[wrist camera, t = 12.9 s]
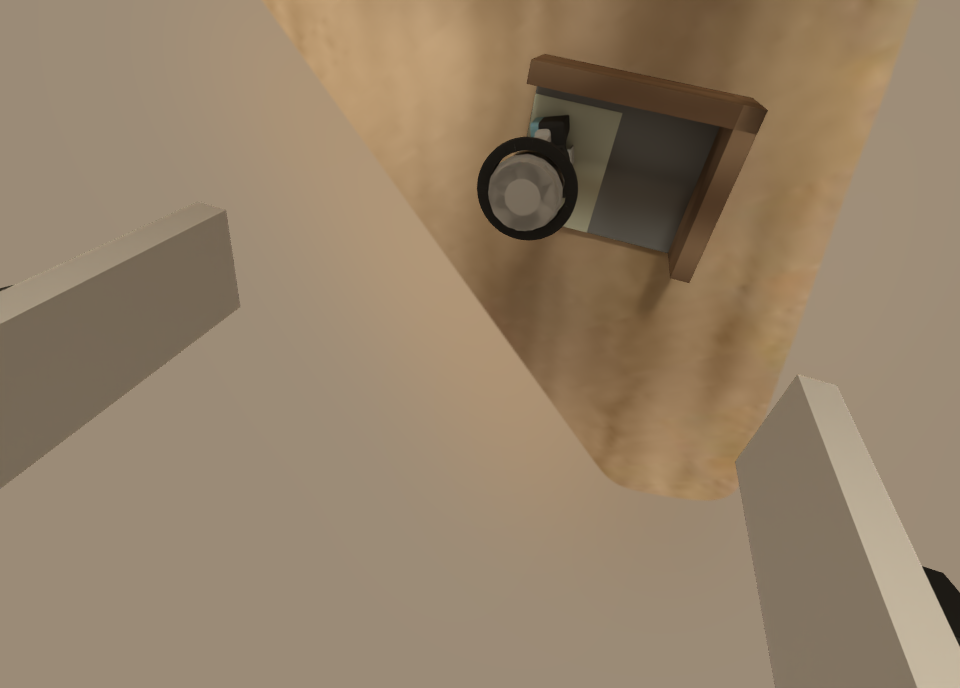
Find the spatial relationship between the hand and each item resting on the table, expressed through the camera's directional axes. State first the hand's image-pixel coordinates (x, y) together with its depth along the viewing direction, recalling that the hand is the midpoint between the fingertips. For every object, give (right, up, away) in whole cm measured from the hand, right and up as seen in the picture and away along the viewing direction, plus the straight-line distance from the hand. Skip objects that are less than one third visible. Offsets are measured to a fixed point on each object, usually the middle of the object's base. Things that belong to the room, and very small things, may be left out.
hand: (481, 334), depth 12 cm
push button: (+5, +12, +23) cm, 26 cm away
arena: (+9, +12, +22) cm, 26 cm away
